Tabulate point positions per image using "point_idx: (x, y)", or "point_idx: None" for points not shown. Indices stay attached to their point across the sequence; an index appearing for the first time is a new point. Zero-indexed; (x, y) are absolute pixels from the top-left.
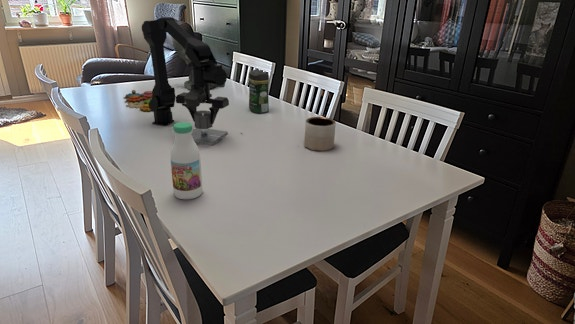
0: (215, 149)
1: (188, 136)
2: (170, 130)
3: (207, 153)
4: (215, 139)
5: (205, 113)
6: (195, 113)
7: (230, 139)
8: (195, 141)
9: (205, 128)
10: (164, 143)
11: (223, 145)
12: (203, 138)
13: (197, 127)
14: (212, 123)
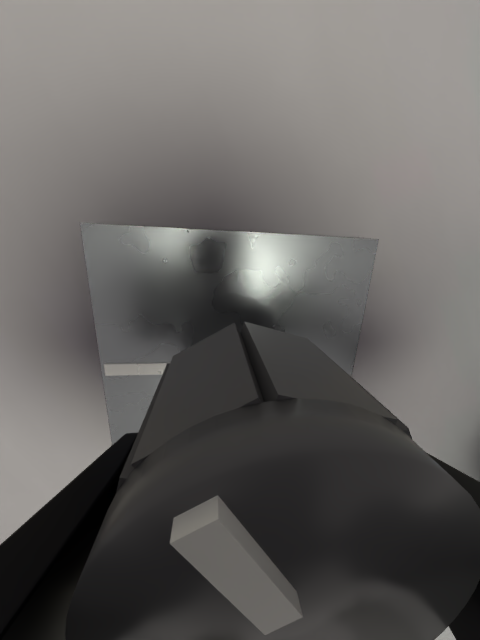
0: (10, 148)
1: None
2: (469, 376)
3: (10, 11)
4: (103, 310)
5: (228, 627)
6: (445, 539)
7: (44, 387)
8: (243, 232)
9: (188, 350)
10: (453, 146)
11: (10, 262)
12: (205, 295)
13: (279, 333)
14: (118, 444)
